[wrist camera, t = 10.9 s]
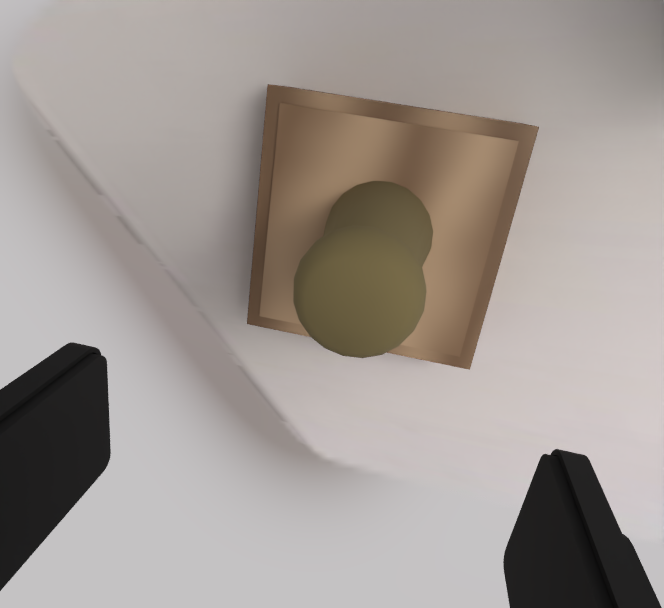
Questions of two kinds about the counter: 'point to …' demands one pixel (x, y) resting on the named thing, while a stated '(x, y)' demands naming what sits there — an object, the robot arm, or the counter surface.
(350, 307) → the olive tapered piece
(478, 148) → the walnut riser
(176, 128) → the counter surface
